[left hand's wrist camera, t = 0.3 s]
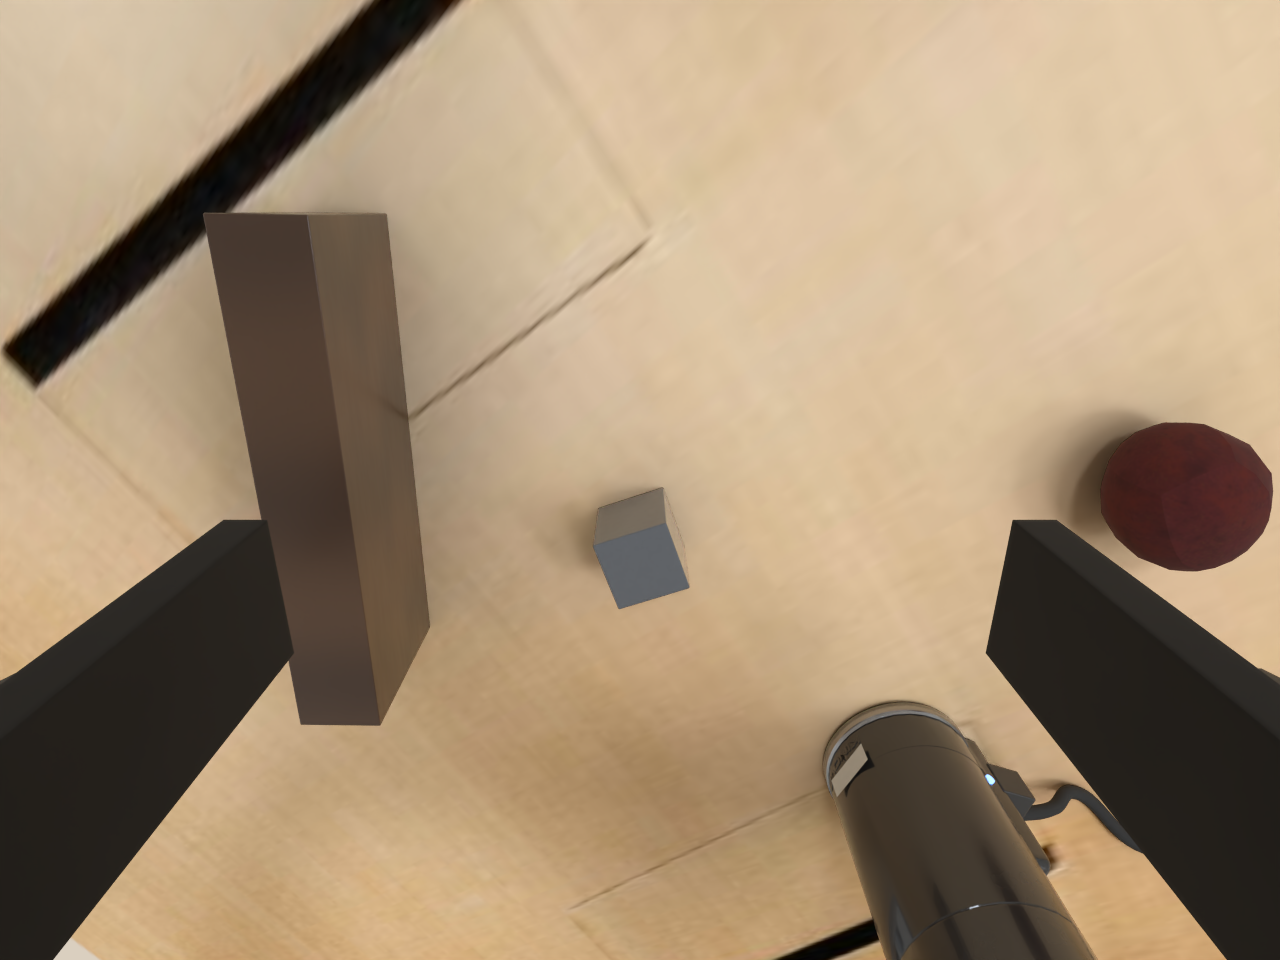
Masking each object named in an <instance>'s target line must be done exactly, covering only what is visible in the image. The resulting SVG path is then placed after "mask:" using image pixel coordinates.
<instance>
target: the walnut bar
mask: <svg viewBox="0 0 1280 960" xmlns="http://www.w3.org/2000/svg"><path fill="white" fill-rule="evenodd" d="M203 216H204V221H205V226H206V232H207V237H208V242H209V247H210V252H211V258H212V263H213V268H214V273H215V279H216V284H217V289H218V294H219V300H220V305H221V310H222V315H223V320H224V326H225V331H226V336H227V341H228V347H229V352H230V357H231V362H232V368H233V373H234V378H235V383H236V388H237V394H238V399H239V404H240V409H241V415H242V420H243V425H244V430H245V436H246V441H247V446H248V451H249V456H250V462H251V467H252V472H253V477H254V483H255V488H256V493H257V498H258V503H259V509H260V514H261V519H262V520H267V522H268V526H269V531H270V536H271V541H272V546H273V551H274V556H275V561H276V566H277V571H278V576H279V581H280V586H281V591H282V595H283V600H284V605H285V610H286V615H287V620H288V625H289V630H290V635H291V640H292V645H293V650H294V654H293V655H292V656H291V658H290V659H289V666H290V671H291V676H292V681H293V687H294V692H295V697H296V702H297V707H298V713H299V718H300V723H301V725H375V726H380V725H381V723H382V721H383V719H384V717H385V715H386V713H387V711H388V709H389V707H390V705H391V703H392V701H393V699H394V697H395V695H396V693H397V691H398V689H399V687H400V685H401V683H402V681H403V679H404V677H405V675H406V673H407V671H408V669H409V667H410V665H411V664H412V662H413V660H414V658H415V656H416V654H417V652H418V650H419V648H420V646H421V644H422V642H423V640H424V638H425V636H426V634H427V632H428V630H429V628H430V624H429V614H428V605H427V595H426V585H425V576H424V566H423V557H422V547H421V538H420V528H419V519H418V509H417V500H416V490H415V481H414V471H413V462H412V452H411V443H410V433H409V424H408V414H407V405H406V395H405V386H404V376H403V367H402V357H401V348H400V338H399V328H398V319H397V309H396V300H395V290H394V281H393V271H392V262H391V252H390V243H389V233H388V224H387V215H386V214H371V213H309V212H302V213H203Z"/></svg>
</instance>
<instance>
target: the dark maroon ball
mask: <svg viewBox="0 0 1280 960" xmlns="http://www.w3.org/2000/svg"><path fill="white" fill-rule="evenodd" d="M1272 496H1273V485H1272V473H1271V472H1270V471H1269V469H1268V468H1267V467H1266V465H1265V464H1264V463H1263V462H1262V460H1261V459H1260V458H1259V456H1258V455H1257V454H1256V452H1255V451H1254V450H1253V448H1252V447H1251V446H1250V445H1249V444H1247V443H1245V442H1243V441H1241V440H1239V439H1237V438H1235V437H1233V436H1231V435H1229V434H1226V433H1224V432H1222V431H1219V430H1217V429H1214V428H1212V427H1210V426H1207V425H1205V424H1196V423H1161V424H1158V425H1154V426H1151V427H1149V428H1146V429H1143V430H1140V431H1138V432H1135V433H1134V434H1133V435H1132V436H1130V437H1129V438H1128V439H1126V440H1125V441H1124V442H1123V443H1121V444H1120V446H1119V447H1118V448H1117V450H1116V451H1115V453H1114V454H1113V455H1112V457H1111V458H1110V460H1109V462H1108V465H1107V468H1106V471H1105V474H1104V477H1103V480H1102V485H1101V513H1102V515H1103V517H1104V518H1105V520H1106V522H1107V524H1108V526H1109V527H1110V529H1111V531H1112V532H1113V534H1114V535H1115V537H1116V538H1117V539H1118V540H1119V541H1120V542H1121V543H1122V544H1124V545H1125V546H1126V547H1127V548H1128V549H1129V550H1130V551H1131V552H1133V553H1134V554H1135V555H1136V556H1137V557H1139V558H1141V559H1144V560H1146V561H1149V562H1151V563H1154V564H1156V565H1159V566H1161V567H1164V568H1167V569H1169V570H1178V571H1201V570H1206V569H1211V568H1216V567H1218V566H1221V565H1223V564H1225V563H1228V562H1230V561H1233V560H1234V559H1236V558H1237V557H1239V556H1240V555H1242V554H1243V553H1245V552H1246V551H1247V550H1248V549H1249V548H1250V547H1251V546H1252V545H1253V544H1254V543H1255V542H1256V541H1257V539H1258V538H1259V537H1260V536H1261V535H1262V534H1263V532H1264V529H1265V527H1266V525H1267V523H1268V521H1269V517H1270V512H1271V506H1272Z"/></svg>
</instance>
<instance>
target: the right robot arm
mask: <svg viewBox="0 0 1280 960" xmlns="http://www.w3.org/2000/svg"><path fill="white" fill-rule="evenodd" d="M823 771H824V776H825V780H826V783H827V786H828V789H829V792H830V794H831V796H832V798H833V799H834V802H835V805H836V808H837V811H838V814H839V817H840V820H841V824H842V827H843V830H844V833H845V836H846V839H847V842H848V845H849V848H850V851H851V854H852V857H853V861H854V864H855V867H856V870H857V873H858V876H859V879H860V882H861V885H862V888H863V891H864V894H865V897H866V900H867V903H868V906H869V909H870V912H871V915H872V918H873V921H874V924H875V927H876V930H877V933H878V936H879V939H880V943H881V946H882V949H883V952H884V955H885V958H886V960H1098V959H1097V957H1096V956H1095V954H1094V953H1093V951H1092V949H1091V948H1090V946H1089V944H1088V943H1087V941H1086V939H1085V938H1084V936H1083V935H1082V933H1081V932H1080V930H1079V928H1078V927H1077V925H1076V924H1075V922H1074V920H1073V919H1072V917H1071V915H1070V914H1069V912H1068V910H1067V909H1066V907H1065V906H1064V904H1063V902H1062V901H1061V899H1060V897H1059V896H1058V894H1057V892H1056V891H1055V889H1054V888H1053V886H1052V884H1051V883H1050V881H1049V879H1048V878H1047V874H1048V873H1049V871H1050V862H1049V859H1048V857H1047V856H1046V854H1045V853H1044V851H1043V849H1042V848H1041V846H1040V845H1039V843H1038V841H1037V840H1036V838H1035V837H1034V835H1033V833H1032V832H1031V830H1030V829H1029V827H1028V826H1027V824H1026V822H1025V821H1028V820H1039V819H1045V818H1049V817H1052V816H1054V815H1057V814H1059V813H1061V812H1062V811H1063V810H1064V809H1065V808H1066V806H1067V804H1068V803H1069V801H1070V800H1071V799H1077V800H1079V801H1081V802H1082V803H1084V804H1085V805H1086V806H1087V807H1088V808H1090V809H1091V810H1092V811H1093V813H1094V814H1095V815H1096V816H1097V817H1098V818H1099V819H1100V820H1101V821H1102V823H1103V824H1104V825H1105V826H1106V827H1107V828H1108V829H1109V830H1110V831H1111V832H1112V833H1113V834H1114V835H1115V836H1116V837H1117V838H1118V839H1119V840H1120V841H1122V842H1123V843H1124V844H1126V845H1127V846H1129V847H1131V848H1132V849H1134V850H1136V851H1138V852H1141V853H1143V852H1142V851H1141V850H1140V849H1139V847H1138V846H1137V845H1136V843H1135V842H1134V841H1133V840H1132V838H1131V837H1130V836H1129V835H1128V833H1127V832H1126V831H1125V829H1124V828H1123V827H1122V826H1121V824H1120V823H1119V822H1118V821H1117V820H1116V819H1115V818H1114V817H1113V816H1112V814H1111V813H1110V812H1109V811H1108V810H1107V809H1106V808H1105V806H1104V805H1103V804H1102V803H1101V802H1100V801H1099V800H1098V799H1097V798H1096V797H1095V796H1094V795H1093V794H1091V793H1090V792H1088V791H1087V790H1085V789H1083V788H1080V787H1077V786H1073V785H1065V786H1062V787H1060V788H1059V789H1058V790H1057V792H1056V793H1055V795H1054V796H1053V798H1052V799H1051V800H1050V801H1049V802H1047V803H1043V804H1038V805H1033V803H1034V802H1035V798H1034V796H1033V795H1032V793H1031V792H1030V790H1029V789H1028V787H1027V786H1026V785H1025V783H1024V782H1023V780H1022V779H1021V777H1020V776H1019V774H1018V773H1017V772H1016V771H1013V770H1009V769H1006V768H1002V767H999V766H995V765H992V764H988V762H987V761H986V759H985V757H984V756H983V754H982V753H981V751H980V749H979V748H978V746H977V745H976V743H975V742H974V741H971V740H968V739H965V738H964V737H963V735H962V733H961V732H960V730H959V729H958V727H957V726H956V724H955V723H954V722H953V721H952V720H951V719H950V718H949V717H948V716H946V715H945V714H944V713H942V712H940V711H938V710H936V709H934V708H932V707H929V706H926V705H922V704H917V703H908V702H897V703H889V704H883V705H879V706H876V707H873V708H870V709H867V710H865V711H863V712H861V713H859V714H857V715H856V716H854V717H852V718H851V719H850V720H848V721H847V722H846V723H844V724H843V725H842V726H841V727H840V728H839V729H838V730H837V731H836V733H835V734H834V735H833V737H832V738H831V740H830V742H829V744H828V746H827V748H826V751H825V754H824V759H823Z"/></svg>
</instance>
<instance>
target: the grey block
mask: <svg viewBox="0 0 1280 960" xmlns="http://www.w3.org/2000/svg"><path fill="white" fill-rule="evenodd" d="M593 548H594V551H595V553H596V555H597V558H598V560H599V563H600V565H601V568H602V570H603V572H604V575H605V577H606V580H607V582H608V585H609V587H610V589H611V592H612V594H613V597H614V599H615V602H616V604H617V607H618V608H619V609H622V608H625V607H628V606H632V605H635V604H638V603H642V602H645V601H648V600H651V599H655V598H658V597H661V596H665V595H668V594H671V593H675V592H678V591H681V590H684V589H688V588H689V587H690V586H689V578H688V570H687V563H686V555H685V548H684V544H683V541H682V538H681V535H680V533H679V530H678V527H677V524H676V521H675V519H674V516H673V513H672V510H671V508H670V505H669V502H668V499H667V496H666V494H665V491H664V488H660V489H657V490H653V491H650V492H647V493H644V494H641V495H638V496H635V497H632V498H629V499H625V500H622V501H619V502H616V503H613V504H610V505H607V506H604V507H601V508H598V513H597V520H596V528H595V535H594V542H593Z"/></svg>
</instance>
